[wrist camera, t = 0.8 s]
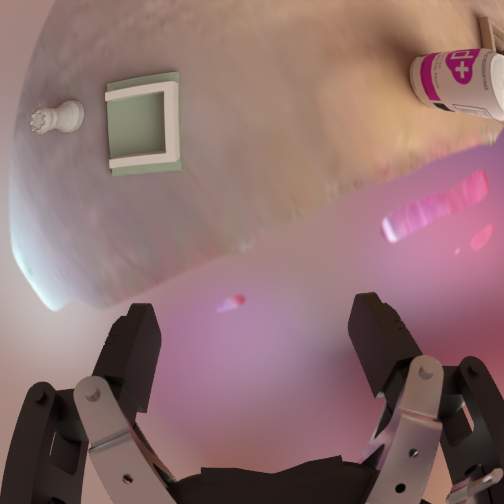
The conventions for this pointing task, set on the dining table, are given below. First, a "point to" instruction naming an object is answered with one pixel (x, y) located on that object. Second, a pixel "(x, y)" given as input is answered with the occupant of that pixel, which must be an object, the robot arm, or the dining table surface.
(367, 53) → the dining table surface
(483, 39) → the tray rim
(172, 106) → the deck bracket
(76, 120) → the rook chess piece
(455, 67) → the supplement can
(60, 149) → the dining table surface
